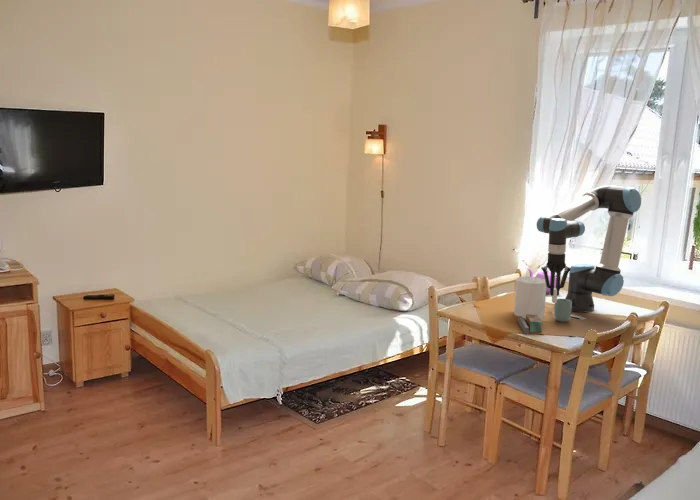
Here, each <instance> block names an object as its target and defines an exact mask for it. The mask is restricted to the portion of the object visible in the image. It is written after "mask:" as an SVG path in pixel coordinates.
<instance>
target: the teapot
mask: <svg viewBox="0 0 700 500" xmlns="http://www.w3.org/2000/svg"><path fill="white" fill-rule="evenodd" d="M527 270H528V271H529V277H537V278H542V279H545V277H544V272H543V271H539V272H538V273H537V274H535V276H534V275H533V274H534V273H533V271H532V269H531V268H527ZM549 271H550V270H549V269H547V274H548V279H549V284H550V280H551V271H550V272H549ZM561 280H562V278H560V281H561ZM554 288H556V274H555V279H554ZM546 295H550V288H548V287H547V286H546Z"/></svg>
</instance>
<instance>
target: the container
mask: <svg viewBox="0 0 700 500" xmlns="http://www.w3.org/2000/svg"><path fill="white" fill-rule="evenodd" d="M514 289H515V291H514V292H515V293H514V294H515V295H514V304H513V305H514V307H513V315H514V316H516V317H518V316H522V318H523V319H526V314H529V315H537V316H538V317H539V318H540V319H542V318H544V317H545V308H546V296H547V294H546V282H545V279H542V278H537V277H535V276H533V277H530V276H519V277H516V278H515V288H514Z"/></svg>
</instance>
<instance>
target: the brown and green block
mask: <svg viewBox="0 0 700 500" xmlns="http://www.w3.org/2000/svg"><path fill="white" fill-rule="evenodd" d="M525 322H526V324H527V325H528V327H529V333H542V330H543V329H542V327H543V321H542V319H541V318H539V317H538V316H537V315H529V314H526V318H525Z"/></svg>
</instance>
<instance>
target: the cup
mask: <svg viewBox="0 0 700 500" xmlns="http://www.w3.org/2000/svg"><path fill="white" fill-rule="evenodd" d="M553 307H554V308H553V315H554V318H555V320H556V321H557V322H562V323H563V322H564V323H566V322H568V321H569V320H571V319H570V318H571V316H572V311H571V310H572V301H571V300H568V299H565V298H557V303H554V306H553Z"/></svg>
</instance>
